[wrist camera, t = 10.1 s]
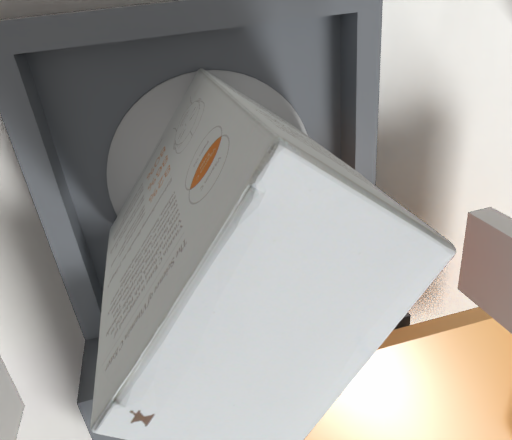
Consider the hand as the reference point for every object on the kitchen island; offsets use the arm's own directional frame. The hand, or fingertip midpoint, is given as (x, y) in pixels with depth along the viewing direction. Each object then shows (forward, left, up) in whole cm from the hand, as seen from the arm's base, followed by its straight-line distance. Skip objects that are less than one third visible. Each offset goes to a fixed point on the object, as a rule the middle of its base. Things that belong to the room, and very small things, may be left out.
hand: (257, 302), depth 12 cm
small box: (0, 0, -9) cm, 9 cm away
